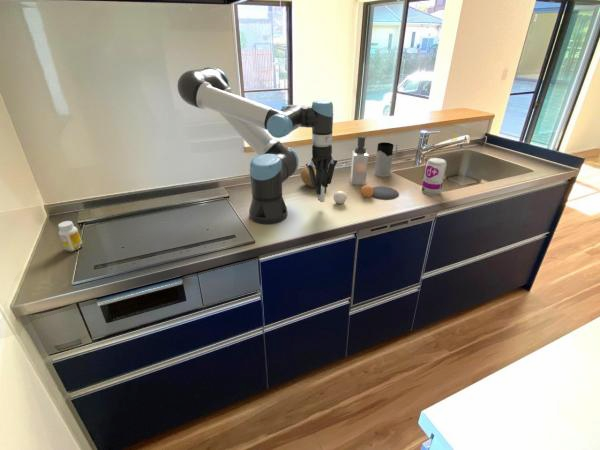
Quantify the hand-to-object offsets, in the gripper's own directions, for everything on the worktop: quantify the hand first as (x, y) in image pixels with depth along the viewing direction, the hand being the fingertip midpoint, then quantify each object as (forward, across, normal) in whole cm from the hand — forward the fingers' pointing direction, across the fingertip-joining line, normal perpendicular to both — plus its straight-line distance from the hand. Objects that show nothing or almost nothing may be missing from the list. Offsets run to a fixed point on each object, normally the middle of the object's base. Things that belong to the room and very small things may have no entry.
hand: (321, 200), depth 141 cm
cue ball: (+1, +9, 0) cm, 9 cm away
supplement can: (+4, +52, -9) cm, 53 cm away
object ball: (+1, +23, 0) cm, 23 cm away
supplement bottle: (+3, -90, +12) cm, 91 cm away
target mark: (+4, +32, 0) cm, 33 cm away
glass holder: (+4, +50, +20) cm, 54 cm away
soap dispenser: (+4, +30, +17) cm, 35 cm away
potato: (+4, +8, +21) cm, 23 cm away
